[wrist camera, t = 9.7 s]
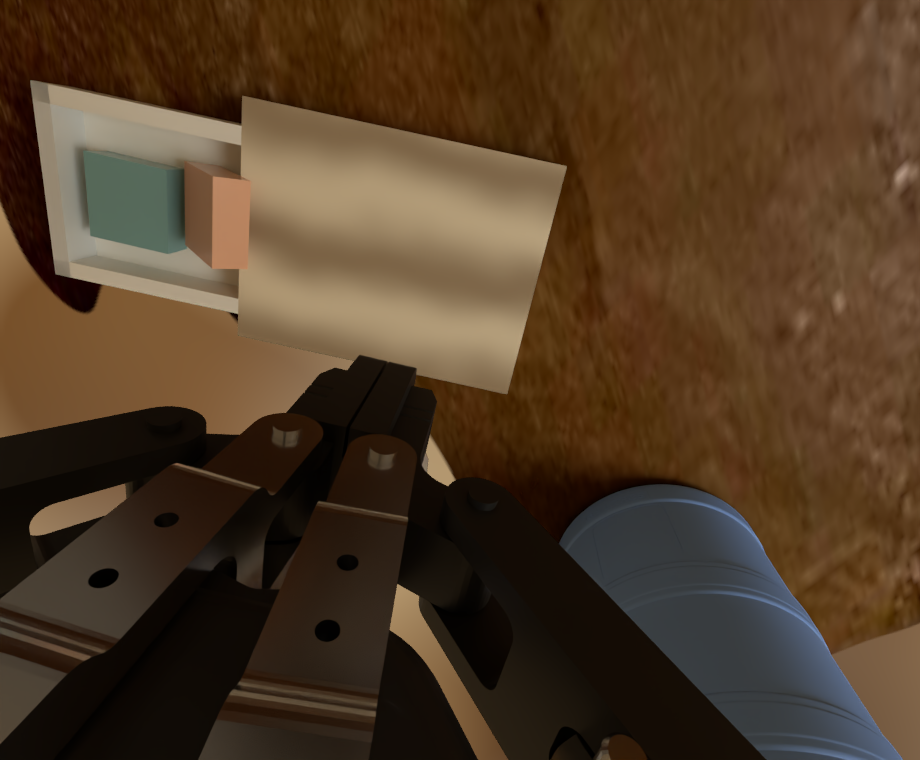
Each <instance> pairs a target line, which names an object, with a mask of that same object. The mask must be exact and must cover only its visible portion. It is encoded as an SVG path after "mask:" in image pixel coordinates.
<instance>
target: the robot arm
mask: <svg viewBox="0 0 920 760" xmlns="http://www.w3.org/2000/svg"><path fill="white" fill-rule="evenodd" d="M416 372H417V368H415V367H411V366H406V365H402V364H398V363H394V362H388V361H385V360H381V359H376V358H372V357H368V356H364V355H359V356H358V357H357V358H356V360H355V361H354V362H353V364H352V365H351V366H350V368H349V369H348V370H342V369H338V368H333V369H331V370H328V371H326V372H323V373H321V374H319V376H318V377H317V378H316V379H315V380H314V381H313V383H312V385H310V386H309V387H308V388H307V390H306V391H305V393H303V394H302V395H301V396H300V398H299V399H298V400H297V401H296V402H295V403H294V405H293V406H292V407H291V408H290V409H289V410H288V411H287V412H286V413H279V414H272V415H267V416H265V417H262V418H260V419H258V420H257V421H255V422H254V423H253V424H252V425H251V426H250V427H248V428H247V429H246V430H245V431H244V432H243V433H242V434H240V435H224V434H206V420H205V418H204V417H203V416H202V415H201V414H199V413H198V412H195V411H193V410H190V409H187V408H182V407H173V406H170V407H169V406H165V407H155V408H149V409H144V410H139V411H134V412H129V413H124V414H119V415H114V416H109V417H104V418H98V419H94V420H88V421H83V422H79V423H73V424H68V425H63V426H58V427H53V428H48V429H43V430H37V431H32V432H27V433H23V434H17V435H12V436H7V437H2V438H0V760H478V759H477V757H476V755H475V754H474V751H473V749H472V748H471V745H470V743H469V742H468V740H467V738H466V736H465V734H464V732H463V730H462V728H461V726H460V724H459V722H458V720H457V718H456V716H455V714H454V712H453V710H452V709H451V707H450V705H449V703H448V701H447V699H446V697H445V695H444V693H443V691H442V689H441V687H440V685H439V683H438V681H437V680H436V678H435V676H434V675H433V673H432V672H431V670H430V669H429V667H428V666H427V664H426V663H425V662H424V661H423V659H422V658H421V657H420V656H419V655H418V654H417V652H416V651H415V650H414V649H413V648H412V647H411V646H410V645H409V644H407V643H406V642H405V641H404V640H403V639H402V638H400V637H399V636H397V635H396V634H394V633H393V632H391V631H390V630H389V629H390V623H391V617H392V611H393V605H394V599H395V594H396V588H397V584H399V585H401V586H402V587H404V588H406V589H408V590H410V591H411V592H413V593H415V594H416V595H418V596H420V597H419V608H420V611H421V614H422V616H423V617H424V619H425V621H426V623H427V624H428V626H429V627H430V629H431V631H432V633H433V634H434V636H435V638H436V639H437V641H438V643H439V644H440V646H441V647H442V649H443V651H444V652H445V654H446V656H447V658H448V659H449V661H450V663H451V664H452V666H453V667H454V669H455V671H456V672H457V674H458V676H459V677H460V679H461V681H462V683H463V684H464V686H465V688H466V689H467V691H468V693H469V694H470V696H471V698H472V699H473V701H474V703H475V704H476V706H477V708H478V709H479V711H480V713H481V714H482V716H483V718H484V720H485V721H486V723H487V725H488V726H489V728H490V729H491V731H492V733H493V735H494V736H495V738H496V740H497V741H498V743H499V745H500V746H501V748H502V750H503V751H504V753H505V755H506V756H507V758H508V759H509V760H766V759H765V758H764V757H763V756H762V755H761V753H760V752H759V751H758V750H757V749H756V748H755V747H754V746H753V745H752V744H751V743H750V742H749V741H748V740H747V739H746V738H745V737H744V736H743V735H742V734H741V733H740V732H739V731H738V730H737V729H736V727H735V726H734V725H733V724H732V723H731V722H730V721H729V720H728V719H727V718H726V717H725V716H724V715H723V714H722V713H721V712H720V711H719V710H718V709H717V708H716V707H715V706H714V705H713V704H712V703H711V701H710V700H709V699H708V698H707V697H706V696H705V695H704V694H703V693H702V692H701V691H700V690H699V689H698V688H697V687H696V686H695V685H694V684H693V683H692V682H691V681H690V680H689V679H688V678H687V677H686V675H685V674H684V673H683V672H682V671H681V670H680V669H679V668H678V667H677V666H676V665H675V664H674V663H673V662H672V661H671V660H670V659H669V658H668V657H667V656H666V655H665V654H664V653H663V652H662V651H661V649H660V648H659V647H658V646H657V645H656V644H655V643H654V642H653V641H652V640H651V639H650V638H649V637H648V636H647V635H646V634H645V633H644V632H643V631H642V630H641V629H640V628H639V627H638V626H637V625H636V623H635V622H634V621H633V620H632V619H631V618H630V617H629V616H628V615H627V614H626V613H625V612H624V611H623V610H622V609H621V608H620V607H619V606H618V605H617V604H616V603H615V602H614V601H613V600H612V599H611V597H610V596H609V595H608V594H607V593H606V592H605V591H604V590H603V589H602V588H601V587H600V586H599V585H598V584H597V583H596V582H595V581H594V580H593V579H592V578H591V577H590V576H589V575H588V574H587V573H586V571H585V570H584V569H583V568H582V567H581V566H580V565H579V564H578V563H577V562H576V561H575V560H574V559H573V558H572V557H571V556H570V555H569V554H568V553H567V552H566V551H565V550H564V549H563V548H562V547H561V545H560V544H559V543H558V542H557V541H556V540H555V539H554V538H553V537H552V536H551V535H550V534H549V533H548V532H547V531H546V530H545V529H544V528H543V527H542V526H541V525H540V524H539V523H538V522H537V521H536V519H535V518H534V517H533V516H532V515H531V514H530V513H529V512H528V511H527V510H526V509H525V508H524V507H523V506H522V505H521V504H520V503H519V502H518V501H517V500H516V499H515V498H514V497H513V496H512V495H511V493H509V492H508V491H507V490H506V489H505V488H503V487H502V486H500V485H498V484H496V483H494V482H492V481H489V480H486V479H481V478H462V479H458V480H456V481H454V482H452V483H451V484H450V485H449V486H446V485H444V484H442V483H440V482H438V481H436V480H435V479H434V478H432V477H431V476H430V475H429V474H428V473H427V472H426V471H425V470H424V468H423V467H422V463H423V460H424V456H425V453H426V449H427V444H428V440H429V435H430V431H431V426H432V422H433V417H434V413H435V408H436V403H437V400H436V398H435V396H434V394H433V392H432V390H428V389H424V388H420V387H415V386H414V384H415V379H416ZM121 484H125V486H126V498H127V499H126V500H125V501H124V502H122V503H121V504H120V505H118V506H117V507H116V508H115V509H113V510H112V511H111V512H110V513H108V514H107V515H106V516H102V517H99V518H96V519H93V520H90V521H86V522H83V523H80V524H77V525H74V526H71V527H68V528H64V529H61V530H58V531H55V532H52V533H48V534H45V535H40V536H32V535H30V532H29V525H30V522H31V520H32V518H33V517H34V516H35V515H36V514H37V513H38V512H39V511H40V510H42V509H43V508H45V507H47V506H49V505H51V504H54V503H57V502H61V501H65V500H68V499H72V498H75V497H79V496H82V495H86V494H89V493H93V492H96V491H100V490H103V489H107V488H110V487H114V486H117V485H121Z"/></svg>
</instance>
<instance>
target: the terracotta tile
mask: <svg viewBox="0 0 920 760" xmlns="http://www.w3.org/2000/svg"><path fill="white" fill-rule="evenodd" d="M184 185H185V245H186V246H187V247H188V248H189V249H190V250H191V251H193V252H194V253H195V254H196V255H197V256H198V257H199V258H200V259H202V260H203V261H204V262H205V263H206V264H207V265H208V266H210V267H211V268H212V269H248V246H249V219H250V193H251V181H250V180H248V179H246V178H244V177H242V176H240V175H238V174H236V173H233V172H231V171H229V170H227V169H225V168H223V167H221V166H218V165H211V164H204V163H197V162H190V161H184Z"/></svg>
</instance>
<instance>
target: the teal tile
mask: <svg viewBox="0 0 920 760" xmlns="http://www.w3.org/2000/svg"><path fill="white" fill-rule="evenodd" d="M83 156H84V167H85V179H86V191H87V202H88V214H89V226H90V236H92V237H97V238H101V239H105V240H110V241H114V242H118V243H122V244H127V245H131V246H135V247H140V248H144V249H148V250H153V251H157V252H161V253H165V254H171V253H174V252H178V251H182V250H185V249H187V246H186V245H185V185H184V169H183V168H179V167H175V166H170V165H166V164H162V163H158V162H153V161H149V160H145V159H140V158H136V157H132V156H128V155H123V154H119V153H115V152H110V151H90V150H83Z"/></svg>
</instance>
